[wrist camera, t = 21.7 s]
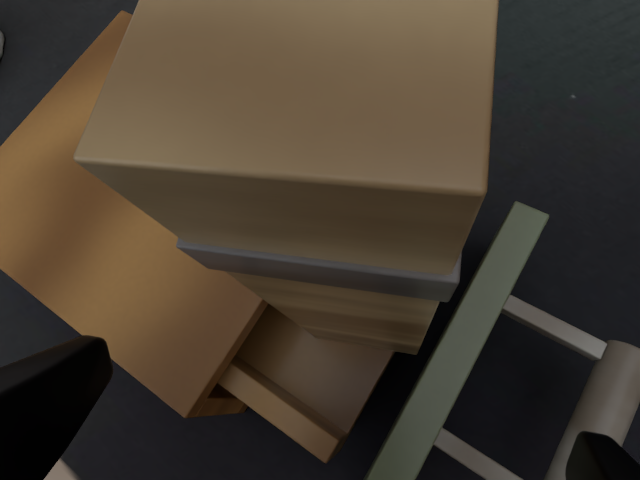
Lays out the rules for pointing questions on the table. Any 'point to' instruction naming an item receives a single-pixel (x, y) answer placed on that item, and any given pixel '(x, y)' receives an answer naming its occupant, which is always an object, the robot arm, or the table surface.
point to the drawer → (427, 372)
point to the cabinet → (115, 254)
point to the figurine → (1, 43)
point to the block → (308, 149)
